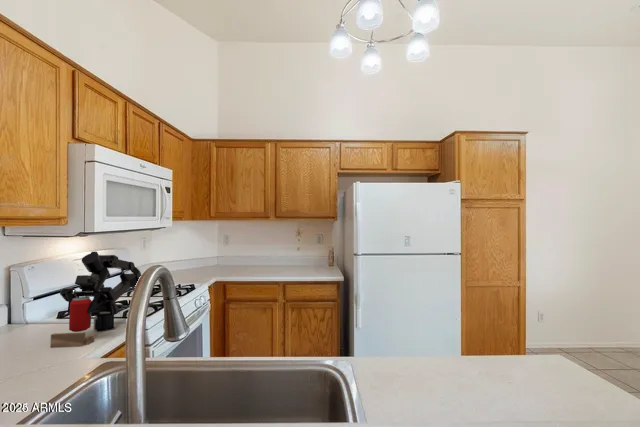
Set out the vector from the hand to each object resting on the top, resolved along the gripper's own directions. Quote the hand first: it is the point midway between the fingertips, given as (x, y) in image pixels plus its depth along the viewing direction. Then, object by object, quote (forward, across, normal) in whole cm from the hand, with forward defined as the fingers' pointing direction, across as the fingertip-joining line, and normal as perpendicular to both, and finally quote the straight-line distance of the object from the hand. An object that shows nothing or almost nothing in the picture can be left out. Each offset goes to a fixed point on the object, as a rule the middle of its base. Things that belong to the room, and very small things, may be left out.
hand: (78, 313), depth 125 cm
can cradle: (+10, 0, +5) cm, 11 cm away
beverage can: (+4, 0, +6) cm, 7 cm away
